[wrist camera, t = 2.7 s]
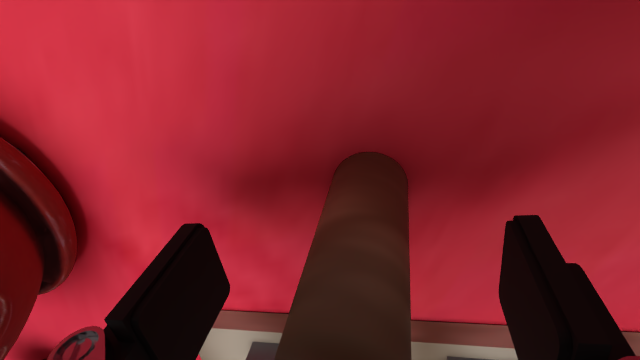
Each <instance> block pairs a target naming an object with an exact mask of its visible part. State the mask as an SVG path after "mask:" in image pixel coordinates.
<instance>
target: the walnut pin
mask: <svg viewBox="0 0 640 360" xmlns="http://www.w3.org/2000/svg"><path fill="white" fill-rule="evenodd" d="M275 360H412V358H411V310H410V262H409V213H408V181H407V177H406V174H405V172H404V170H403V169H402V167H401V166H400V165H399V164H398V163H397V162H396V161H395V160H393V159H392V158H390V157H388V156H386V155H383V154H380V153H375V152H362V153H358V154H354V155H352V156H350V157H348V158H346V159H345V160H344V161H343V162H342V163H341V164H340V165H339V166H338V167H337V169H336V171H335V174H334V177H333V180H332V183H331V186H330V189H329V192H328V195H327V198H326V201H325V204H324V207H323V210H322V214H321V217H320V220H319V223H318V226H317V229H316V232H315V235H314V238H313V241H312V244H311V247H310V250H309V253H308V257H307V260H306V263H305V266H304V269H303V272H302V275H301V278H300V281H299V284H298V287H297V290H296V293H295V296H294V300H293V303H292V306H291V309H290V312H289V315H288V318H287V321H286V324H285V327H284V330H283V333H282V336H281V339H280V343H279V346H278V349H277V352H276V355H275Z"/></svg>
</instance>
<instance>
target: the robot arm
mask: <svg viewBox="0 0 640 360" xmlns="http://www.w3.org/2000/svg"><path fill="white" fill-rule="evenodd" d="M229 292H230V284H229V281H228V279H227V276H226V274H225V271H224V268H223V266H222V263H221V261H220V258H219V256H218V253H217V250H216V248H215V245H214V243H213V240H212V237H211V235H210V232H209V230H208V229H207V228H205V227H204V226H203V225H202V224H200V223H195V224H184V225H182V226H181V227H180V229H179V230H178V231H177V232H176V233H175V235H174V236H173V237H172V238H171V240H170V241H169V242H168V243H167V244H166V246H165V247H164V248H163V249H162V250H161V252H160V253H159V254H158V255H157V256H156V258H155V259H154V260H153V261H152V262H151V264H150V265H149V266H148V267H147V268H146V270H145V271H144V272H143V273H142V275H141V276H140V277H139V278H138V279H137V281H136V282H135V283H134V284H133V285H132V287H131V288H130V289H129V290H128V291H127V293H126V294H125V295H124V296H123V297H122V299H121V300H120V301H119V302H118V304H117V305H116V306H115V307H114V308H113V310H112V311H111V312H110V313H109V314H108V316H107V317H106V318H105V319H104V320H105V322H106V323H107V326H106V327H105V329H104V330H103V329H102V328H100V327H97V326H90V327H85V328H82V329H80V330H77V331H75V332H74V333H72V334H70V335H68V336H67V337H66V338H64V339H63V340H62V341H61V342H60V343H59V344H58V345H57V346H56V347H55V348H54V349H53V350H52V352H51V353H50V355H49V356H48V359H47V360H196V358H197V356H198V354H199V352H200V350H201V348H202V346H203V344H204V342H205V340H206V338H207V336H208V334H209V332H210V330H211V328H212V327H213V325H214V323H215V321H216V319H217V317H218V315H219V313H220V311H221V309H222V307H223V305H224V303H225V301H226V299H227V297H228V295H229ZM499 299H500V303H501V306H502V310H503V313H504V316H505V319H506V322H507V326H508V329H509V332H510V335H511V339H512V342H513V345H514V348H515V351H516V355H517V358H518V360H640V356H636V355H635V353H634V352H633V350H632V348H631V347H630V345H629V344H628V342H627V340H626V339H625V337H624V335H623V334H622V332H621V331H620V329H619V327H618V326H617V324H616V322H615V321H614V319H613V318H612V316H611V314H610V313H609V311H608V309H607V308H606V306H605V305H604V303H603V301H602V300H601V298H600V296H599V295H598V293H597V292H596V290H595V288H594V287H593V285H592V284H591V282H590V280H589V279H588V277H587V275H586V274H585V272H584V271H583V269H582V268H581V267H580V265H578V264H576V263H566V262H565V261H564V259H563V257H562V255H561V254H560V252H559V250H558V248H557V247H556V245H555V243H554V241H553V240H552V238H551V236H550V234H549V233H548V231H547V229H546V227H545V226H544V224H543V222H542V220H541V219H540V217H539V216H538V215H520V216H514V218H513V221H507V222H506V226H505V236H504V245H503V254H502V264H501V273H500V283H499Z"/></svg>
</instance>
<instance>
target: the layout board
mask: <svg viewBox="0 0 640 360" xmlns="http://www.w3.org/2000/svg"><path fill="white" fill-rule="evenodd" d="M288 315H289V314H280V313H261V312H242V311H224V310H221V311H220V313H219V315H218V317H217V319H216V321H215V323H214V325H213V327H212V328H211V330H210V332H209V334H208V336H207V338H206V340H205V342H204V344H203V346H202V348H201V350H200V352H199V355H200V357H201V359H202V360H275V355H276V352H277V349H278V346H279V343H280V339H281V336H282V333H283V330H284V327H285V324H286V321H287V318H288ZM622 334H623V335H624V337H625V339H626V340H627V342H628V344H629V345H630V347H631V348H632V350H633V352H634V353H635V355H636V356H640V333H636V332H622ZM411 358H412V360H518V358H517V355H516V351H515V348H514V345H513V342H512V339H511V335H510V332H509V329H508V326H505V325H486V324H467V323H448V322H430V321H411Z"/></svg>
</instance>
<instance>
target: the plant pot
mask: <svg viewBox="0 0 640 360" xmlns="http://www.w3.org/2000/svg"><path fill="white" fill-rule="evenodd" d="M76 254H77V237H76V231H75V227H74V223H73V220H72V218H71V215H70V212H69V210H68V208H67V206H66V204H65V202H64V201H63V199H62V197H61V195H60V194H59V193H58V191H57V190H56V188H55V187H54V186H53V184H52V183H51V182H50V181H49V180H48V179H47V177H46V176H45V175H44V174H43V173H42V172H41V171H40V170H39V169H38V168H37V167H36V166H35V165H34V164H33V163H32V162H31V161H30V160H29V159H28V158H27V157H26V156H25V154H24V153H23V152H22V151H20V150H19V149H18V148H15V147H14V146H12V145H11V144H10V143H8V142H7V141H5V140H4V139H2V138H1V137H0V360H4V359H5V357H6V355H7V354H8V352H9V351H10V349H11V348H12V346H13V345H14V343H15V342H16V340H17V338H18V337H19V335H20V333H21V331H22V329H23V327H24V326H25V324H26V322H27V320H28V317H29V315H30V313H31V311H32V309H33V306H34V304H35V301H36V298H37V295H40V294H43V293H47V292H49V291H51V290H53V289H55V288H56V287H58V286H59V285H60V284H62V283H63V282H64V281H65V280H66V278H67V277H68V276H69V274H70V272H71V271H72V269H73V266H74V263H75V259H76Z"/></svg>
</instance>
